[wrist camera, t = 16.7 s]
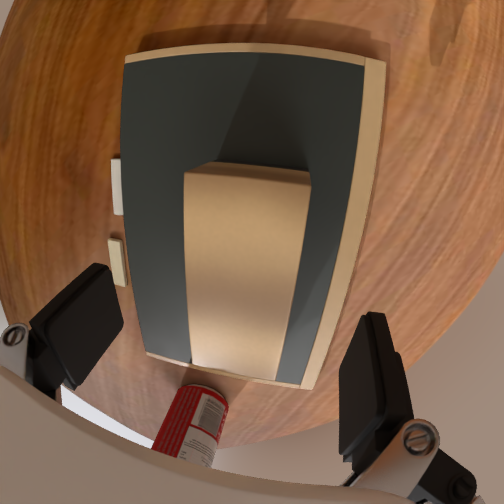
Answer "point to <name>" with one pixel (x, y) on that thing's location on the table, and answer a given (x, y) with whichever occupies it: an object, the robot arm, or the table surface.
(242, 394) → the table surface
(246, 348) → the eraser
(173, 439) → the soda can
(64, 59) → the table surface
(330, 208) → the chalkboard
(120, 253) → the chalk mark
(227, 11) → the table surface
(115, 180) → the white chalk stick
